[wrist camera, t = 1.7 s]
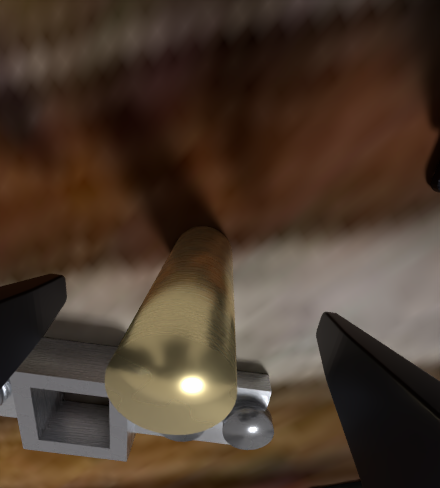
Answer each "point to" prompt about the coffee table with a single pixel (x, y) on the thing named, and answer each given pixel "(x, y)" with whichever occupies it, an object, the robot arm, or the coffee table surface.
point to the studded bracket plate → (107, 417)
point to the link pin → (181, 342)
